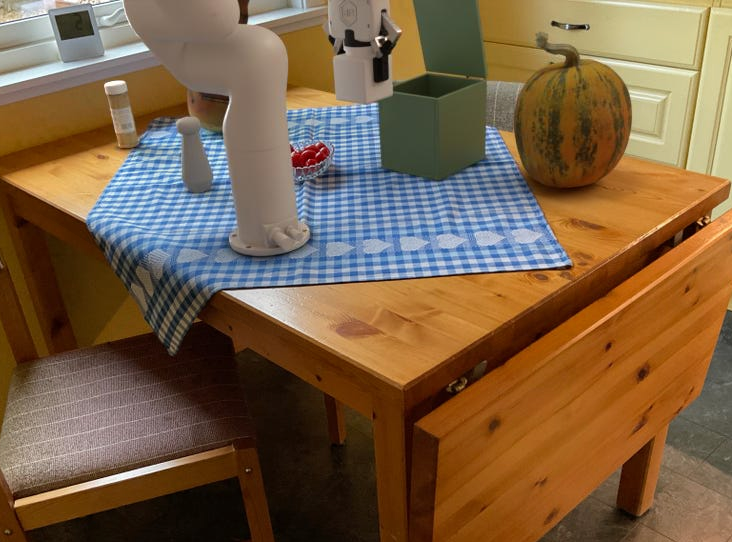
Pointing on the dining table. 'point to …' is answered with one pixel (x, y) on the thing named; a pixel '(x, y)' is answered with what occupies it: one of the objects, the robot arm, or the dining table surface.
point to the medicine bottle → (359, 73)
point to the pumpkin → (571, 119)
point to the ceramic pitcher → (213, 105)
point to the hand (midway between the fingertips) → (363, 78)
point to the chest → (433, 125)
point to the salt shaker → (193, 156)
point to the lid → (451, 37)
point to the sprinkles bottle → (121, 114)
